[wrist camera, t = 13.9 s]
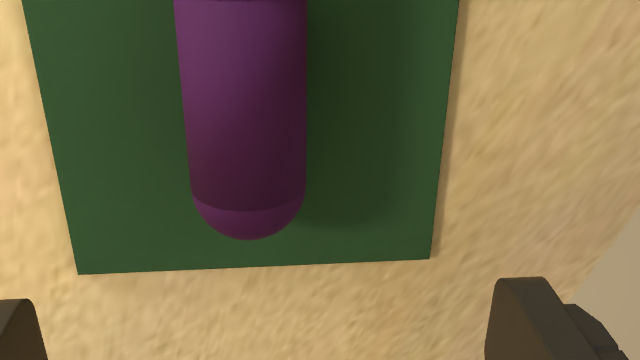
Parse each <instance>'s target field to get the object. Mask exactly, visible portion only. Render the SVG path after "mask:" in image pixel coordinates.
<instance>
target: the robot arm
mask: <svg viewBox="0 0 640 360" xmlns="http://www.w3.org/2000/svg"><path fill="white" fill-rule="evenodd" d="M484 355H485V360H629V359H628V358H627V357H626V356H625V354H624V353H623V351H622V350H619V349H618V345H617V343H616V342H615V341H614V339H613V338H612V337H611V335H610V334H609V333H608V331H607V330H606V329H605V327H604V326H603V325H602V323H601V322H599V321H598V320H597V319H595V318H594V317H592V316H591V315H590V314H588V313H587V312H586V311H584V310H583V309H581V308H580V307H579V306H577V305H576V304H563V303H562V301H561V300H560V299H559V297H558V296H557V294H556V293H555V291H554V290H553V289H552V287H551V286H550V284H549V283H548V281H547V280H546V279H545V278H543V277H518V278H500V279H498V281H497V282H496V284H495V288H494V293H493V299H492V305H491V311H490V316H489V322H488V328H487V334H486V340H485V349H484ZM0 360H48V358H47V354H46V350H45V346H44V342H43V338H42V334H41V331H40V327H39V323H38V319H37V315H36V311H35V308H34V305H33V303H32V302H31V301H30V300H29V299H7V300H0Z"/></svg>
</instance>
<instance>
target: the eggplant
mask: <svg viewBox="0 0 640 360" xmlns="http://www.w3.org/2000/svg"><path fill="white" fill-rule="evenodd" d="M173 4H174V15H175V26H176V36H177V47H178V58H179V69H180V79H181V90H182V101H183V112H184V122H185V133H186V144H187V155H188V165H189V176H190V187H191V193H192V197H193V201H194V204H195V206H196V208H197V210H198V212H199V214H200V215H201V216H202V218H203V219H204V220H205V221H206V223H207V224H208V225H210V226H211V227H212V228H214V229H215V230H216V231H218V232H219V233H221V234H223V235H225V236H228V237H231V238H234V239H238V240H259V239H263V238H267V237H269V236H271V235H273V234H276V233H278V232H279V231H281V230H282V229H284V228H285V227H286V226H287V225H288V224H289V223H290V222H291V221H292V220H293V219H294V217H295V216H296V214H297V213H298V211H299V209H300V208H301V206H302V203H303V200H304V196H305V190H306V156H307V0H173Z"/></svg>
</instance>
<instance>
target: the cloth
mask: <svg viewBox="0 0 640 360" xmlns="http://www.w3.org/2000/svg"><path fill="white" fill-rule="evenodd" d="M22 5H23V9H24V14H25V19H26V24H27V29H28V34H29V39H30V44H31V48H32V53H33V58H34V63H35V68H36V73H37V78H38V82H39V87H40V92H41V97H42V102H43V107H44V112H45V117H46V121H47V126H48V131H49V136H50V141H51V146H52V151H53V155H54V160H55V165H56V170H57V175H58V180H59V185H60V190H61V194H62V199H63V204H64V209H65V214H66V219H67V224H68V228H69V233H70V238H71V243H72V248H73V253H74V258H75V263H76V267H77V272H78V275H84V274H106V273H129V272H151V271H174V270H196V269H219V268H241V267H264V266H286V265H309V264H331V263H354V262H376V261H399V260H421V259H429V258H430V250H431V242H432V233H433V224H434V215H435V207H436V198H437V189H438V180H439V172H440V163H441V154H442V145H443V137H444V128H445V119H446V110H447V102H448V93H449V84H450V76H451V67H452V58H453V49H454V41H455V32H456V23H457V14H458V6H459V0H307V156H306V190H305V196H304V200H303V203H302V206H301V208H300V209H299V211H298V213H297V214H296V216H295V217H294V219H293V220H292V221H291V222H290V223H289V224H288V225H287V226H286V227H285V228H284V229H282V230H281V231H279V232H278V233H276V234H273V235H271V236H269V237H267V238H263V239H259V240H238V239H234V238H231V237H228V236H225V235H223V234H221V233H219V232H218V231H216V230H215V229H214V228H212V227H211V226H210V225H208V224H207V223H206V221H205V220H204V219H203V218H202V216H201V215H200V214H199V212H198V210H197V208H196V206H195V204H194V201H193V197H192V193H191V187H190V176H189V165H188V155H187V144H186V133H185V122H184V112H183V101H182V90H181V79H180V69H179V58H178V47H177V36H176V26H175V15H174V4H173V0H22Z"/></svg>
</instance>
